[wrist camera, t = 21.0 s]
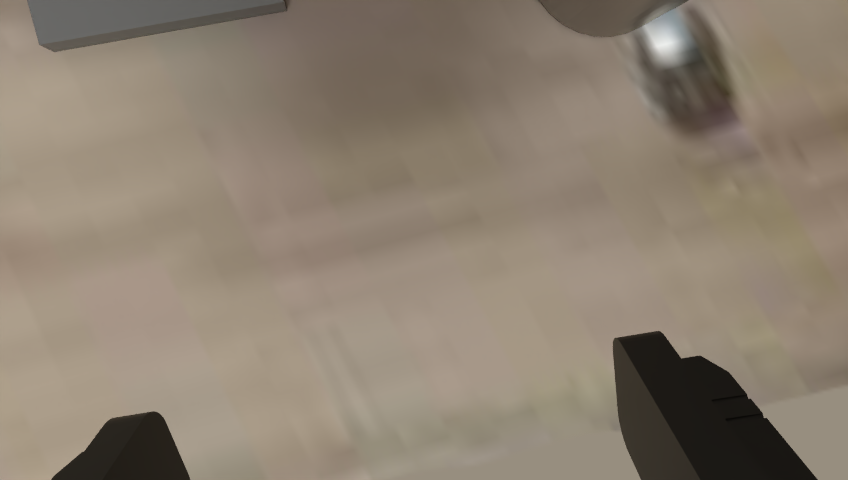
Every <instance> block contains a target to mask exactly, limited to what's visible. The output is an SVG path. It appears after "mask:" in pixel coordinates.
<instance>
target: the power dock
mask: <svg viewBox="0 0 848 480" xmlns="http://www.w3.org/2000/svg"><path fill="white" fill-rule="evenodd" d="M27 1H28V5H29V9H30V12H31V16H32V20H33V23H34V27H35V31H36V34H37V38H38V42H39V45H41V46H43V47H45V48H47V49H49V50H51V51H53V52H57V51H62V50H68V49H74V48H79V47H85V46H91V45H96V44H102V43H108V42H113V41H119V40H124V39H130V38H136V37H141V36H147V35H153V34H158V33H164V32H170V31H175V30H181V29H187V28H192V27H198V26H203V25H209V24H215V23H220V22H226V21H232V20H237V19H243V18H249V17H254V16H260V15H266V14H271V13H277V12H283V11H287V10H286V5H285V1H284V0H27Z"/></svg>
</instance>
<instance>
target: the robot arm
mask: <svg viewBox="0 0 848 480" xmlns="http://www.w3.org/2000/svg"><path fill="white" fill-rule="evenodd" d="M539 1H540V2H541V3H542V4H543V6H544V7H545V8H546V9H547V11H548V12H549V13H550V14H551V15H552V16H553V17H555V18H556V19H557V20H558V21H559V22H561V23H562V24H563V25H565V26H567V27H569V28H571V29H573V30H575V31H577V32H579V33H583V34H587V35H591V36H600V37H612V36H616V35H621V34H626V33H628V32H631V31H633V30H635V29H637V28H639V27H641V26H643V25H645V24H647V23H649V22H650V21H652V20H654V19H656V18H658V17H659V16H661V15H663V14H665V13H666V12H668V11H670V10H672V9H674V8H676V7H678V6H680V5H681V4H683V3H685V2H687V1H688V0H539ZM613 357H614V369H615V382H616V394H617V406H618V416H619V422H620V427H621V431H622V435H623V438H624V441H625V444H626V447H627V449H628V452H629V454H630V456H631V458H632V461H633V463H634V465H635V467H636V469H637V472H638V474H639V476H640V478H641V480H817V479H816V477H815V476H814V475H813V474H812V472H811V471H810V470H809V469H808V468H807V466H806V465H805V464H804V463H803V461H802V460H801V459H800V458H799V457H798V456H797V454H796V453H795V452H794V451H793V449H792V448H791V447H790V446H789V445H788V443H787V442H786V441H785V440H784V438H782V436H781V435H780V434H779V432H778V431H777V430H776V429H775V428H774V426H773V425H772V424H771V423H770V422H769V420H768V419H767V418H763V413H762V412H761V411H760V409H759V408H758V407H757V406H756V405H755V403H754V402H753V401H752V400H751V399H748V397H747V394H746V393H745V391H744V390H743V389H742V388H741V386H740V385H739V384H738V383H737V382H736V380H735V379H734V378H733V377H732V376H731V374H730V373H729V372H727V371H726V370H724V369H722V368H721V367H719V366H717V365H715V364H714V363H712V362H710V361H709V360H707V359H705V358H703V357H702V356H695V357H688V358H682V359H681V358H680V356H679V355H678V354H677V352H676V351H675V349H674V348H673V347H672V345H671V344H670V343H669V341H668V340H667V338H666V337H665V336H664V334H663V333H662V332H660V331H656V332H649V333H643V334H637V335H631V336H625V337H618V338H615V339H614V341H613ZM51 480H190V477H189V475H188V472H187V470H186V468H185V465H184V463H183V461H182V459H181V456H180V454H179V452H178V449H177V447H176V445H175V442H174V440H173V438H172V435H171V433H170V431H169V429H168V426H167V424H166V422H165V420H164V418H163V417H162V416H161V415H160V414H159V413H157V412H147V413H141V414H135V415H129V416H123V417H117V418H112V419H110V420H109V421H107V422H106V423H105V425H104V426H103V427H102V429H101V430H100V431H99V433H98V434H97V435H96V437H95V438H94V439H93V441H92V442H91V443H90V445H89V446H88V447H87V449H86V450H85V451H84V452H82V453H81V454H80V455H78V456H77V457H76V458H75V459H74V460H72V461H71V462H70V463H69V464H68V465H67V466H65V467H64V468H63V469H62V470H61V471H59V472H58V473H57V474H56V475H55V476H54V477H53V478H52V479H51Z"/></svg>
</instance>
